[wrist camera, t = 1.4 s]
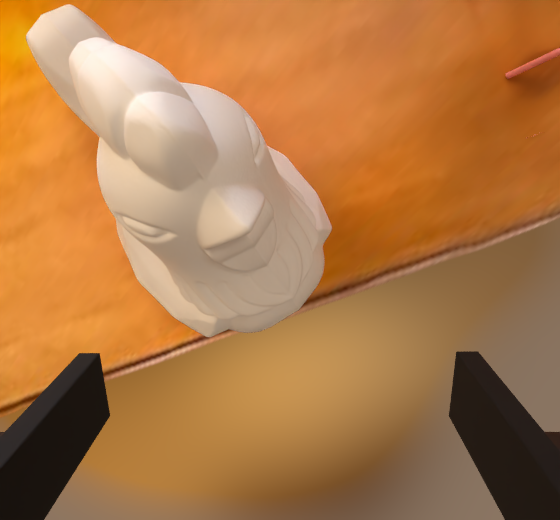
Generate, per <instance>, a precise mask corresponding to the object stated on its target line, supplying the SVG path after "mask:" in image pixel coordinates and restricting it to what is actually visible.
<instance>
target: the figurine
mask: <svg viewBox="0 0 560 520" xmlns="http://www.w3.org/2000/svg"><path fill="white" fill-rule="evenodd" d="M559 55H560V48H558V49H556V50H554V51H552V52H550V53H547V54H545V55H543V56H541V57H539V58H537V59H535V60H533V61H531V62H528V63H526V64H524V65H522V66H520V67H518V68H516V69H514V70H512V71H510V72H507V73H506V77H507V78H508V79H509V78H511V77H513V76H515V75H518V74H520V73H522V72H524V71H526V70H529V69H531V68H533V67H535V66H537V65H539V64H542V63H544V62H546V61H548V60H550V59H552V58H555V57H557V56H559ZM527 138H528V137H527Z"/></svg>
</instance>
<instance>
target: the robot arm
mask: <svg viewBox="0 0 560 520" xmlns="http://www.w3.org/2000/svg"><path fill="white" fill-rule="evenodd" d="M109 416H110V413H109V407H108V401H107V395H106V389H105V383H104V377H103V371H102V365H101V359H100V353H79V354H78V355H77V356H76V357H75V359H74V360H73V361H72V362H71V363H70V364H69V365H68V366H67V367H66V368H65V369H64V370H63V371H62V372H61V373H60V374H59V375H58V376H57V378H56V379H55V380H54V381H53V382H52V383H51V384H50V385H49V386H48V387H47V388H46V389H45V390H44V391H43V392H42V393H41V394H40V396H39V397H38V398H37V399H36V400H35V401H34V402H33V403H32V404H31V405H30V406H29V407H28V408H27V409H26V410H25V411H24V413H23V414H22V415H21V416H20V417H19V418H18V419H17V420H16V421H15V422H14V423H13V424H12V425H11V426H10V427H9V428H8V430H6V431H5V432H0V520H44V519H45V517H46V516H47V514H48V512H49V511H50V509H51V508H52V506H53V505H54V503H55V502H56V500H57V498H58V497H59V495H60V494H61V492H62V490H63V489H64V487H65V486H66V484H67V483H68V481H69V479H70V478H71V476H72V475H73V473H74V472H75V470H76V468H77V467H78V465H79V464H80V462H81V461H82V459H83V458H84V456H85V454H86V453H87V451H88V450H89V448H90V446H91V445H92V443H93V442H94V440H95V438H96V437H97V435H98V434H99V432H100V431H101V429H102V427H103V426H104V424H105V422H106V421H107V420H108V418H109ZM449 417H450V419H451V420H452V422H453V424H454V426H455V428H456V430H457V432H458V434H459V435H460V437H461V439H462V441H463V443H464V445H465V446H466V448H467V450H468V452H469V454H470V456H471V458H472V459H473V461H474V463H475V465H476V467H477V468H478V471H479V472H480V474H481V476H482V478H483V480H484V482H485V483H486V485H487V487H488V489H489V491H490V493H491V495H492V496H493V498H494V500H495V502H496V504H497V506H498V508H499V509H500V511H501V513H502V515H503V517H504V519H505V520H560V432H544V431H543V430H542V429H541V428H540V426H539V425H538V424H537V423H536V422H535V420H534V419H533V418H532V417H531V415H530V414H529V413H528V412H527V411H526V409H525V408H524V407H523V406H522V405H521V403H520V402H519V401H518V400H517V399H516V397H515V396H514V395H513V394H512V393H511V391H510V390H509V389H508V388H507V386H506V385H505V384H504V383H503V381H502V380H501V379H500V378H499V377H498V376H497V374H496V373H495V372H494V371H493V370H492V368H491V367H490V366H489V364H488V363H487V362H486V361H485V360H484V359H483V357H482V356H481V355H480V354H479V352H456V360H455V369H454V377H453V386H452V394H451V403H450V412H449Z"/></svg>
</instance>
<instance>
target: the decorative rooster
mask: <svg viewBox="0 0 560 520" xmlns="http://www.w3.org/2000/svg"><path fill="white" fill-rule="evenodd" d="M26 40H27V43H28V45H29V47H30V50H31V52H32V54H33V56H34V58H35V60H36V62H37V63H38V65H39V67H40V69H41V70H42V72H43V74H44V75H45V77H46V78H47V79H48V81H49V82H50V84H51V85H52V86H53V88H54V89H55V90H56V92H57V93H58V94H59V96H60V97H61V98H62V99H63V100H64V102H65V103H66V104H67V105H68V106H69V107H70V109H71V110H72V111H73V112H74V113H75V114H76V115H77V116H78V117H79V118H80V119H81V120H82V121H83V122H84V123H85V124H86V125H87V126H88V127H89V128H90V129H91V130H93V131H94V132H95V133H96V134H97V135H98V136H99V137H100V139H99V144H98V151H97V175H98V181H99V186H100V189H101V192H102V195H103V198H104V200H105V202H106V204H107V206H108V208H109V209H110V211H111V213H112V214H113V216H114V217H115V218H116V224H117V233H118V236H119V239H120V241H121V243H122V246H123V248H124V250H125V252H126V254H127V257H128V259H129V261H130V264H131V266H132V269H133V271H134V273H135V276H136V278H137V280H138V281H139V282H140V284H141V285H142V286H143V287H144V288H145V289H146V290H147V291H148V292H149V293H150V294H151V295H152V296H153V297H154V298H155V299H156V300H157V301H158V302H159V303H160V304H161V305H162V306H163V307H164V308H165V309H166V310H167V311H168V312H169V313H170V314H171V315H172V316H173V317H174V318H175V319H177V320H179V321H180V322H182V323H184V324H185V325H187V326H188V327H190V328H192V329H193V330H195V331H197V332H198V333H200V334H202V335H204V336H206V337H212V336H214V335H216V334H219V333H221V332H223V331H225V330H227V329H231V330H234V331H238V332H244V333H252V332H259V331H262V330H265V329H267V328H270V327H271V326H273V325H275V324H277V323H278V322H280V321H281V320H283V319H285V318H286V317H288V316H289V315H291V314H293V313H294V312H296V311H298V310H299V309H300V308H301V306H302V305H303V304H304V303H305V301H306V300H307V299H308V297H309V296H310V295H311V294H312V292H313V291H314V290H315V288H316V287H317V285H318V283H319V282H320V279H321V277H322V274H323V270H324V253H323V244H324V242H325V241H326V239H327V237H328V236H329V234H330V232H331V230H332V226H331V223H330V221H329V218H328V216H327V214H326V212H325V210H324V207H323V205H322V203H321V201H320V199H319V196H318V194H317V193H316V191H315V190H314V189H313V188H312V187H311V186H310V184H309V183H308V182H307V181H306V180H305V179H304V177H303V176H302V175H301V174H300V173H299V171H298V170H297V169H296V168H295V167H294V166H293V164H292V163H291V162H290V161H289V159H288V158H287V157H286V156H285V155H283V154H282V153H280V152H278V151H276V150H274V149H273V148H271V147H269V146H267V145H266V142H265V140H264V138H263V136H262V134H261V132H260V130H259V128H258V126H257V125H256V123H255V122H254V121H253V119H252V118H251V117H250V115H249V114H248V113H247V112H246V111H245V110H244V109H243V108H242V107H241V106H240V105H239V104H238V103H237V102H236V101H234V100H233V99H231V98H230V97H228V96H227V95H225V94H223V93H221V92H219V91H217V90H214V89H212V88H209V87H206V86H202V85H197V84H191V83H181V82H179V81H178V80H177V79H176V78H175V77H174V76H173V75H172V74H171V73H170V72H169V71H168V70H167V69H166V68H165V67H164V66H162V65H161V64H160V63H158V62H156V61H155V60H153V59H151V58H149V57H147V56H145V55H143V54H141V53H139V52H136V51H134V50H132V49H130V48H127V47H125V46H121V45H118V44H116V43H115V42H114V41H113V39H112V38H111V37H110V36H109V35H108V34H107V33H106V32H105V31H104V30H103V29H102V28H101V27H100V26H99V25H98V24H97V23H96V22H94V21H93V20H92V19H91V18H90V17H88V16H87V15H86V14H85V13H83V12H82V11H81V10H79V9H78V8H76V7H75V6H73V5H70V4H67V5H64V6H62V7H59V8H57V9H54V10H52V11H50V12H47V13H44V14H42V15H41V16H40V17H39V19H38V20H37V21H36V23H35V24H34V25H33V26H32V28H31V29H30V30H29V32H28V33H27V36H26Z"/></svg>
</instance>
